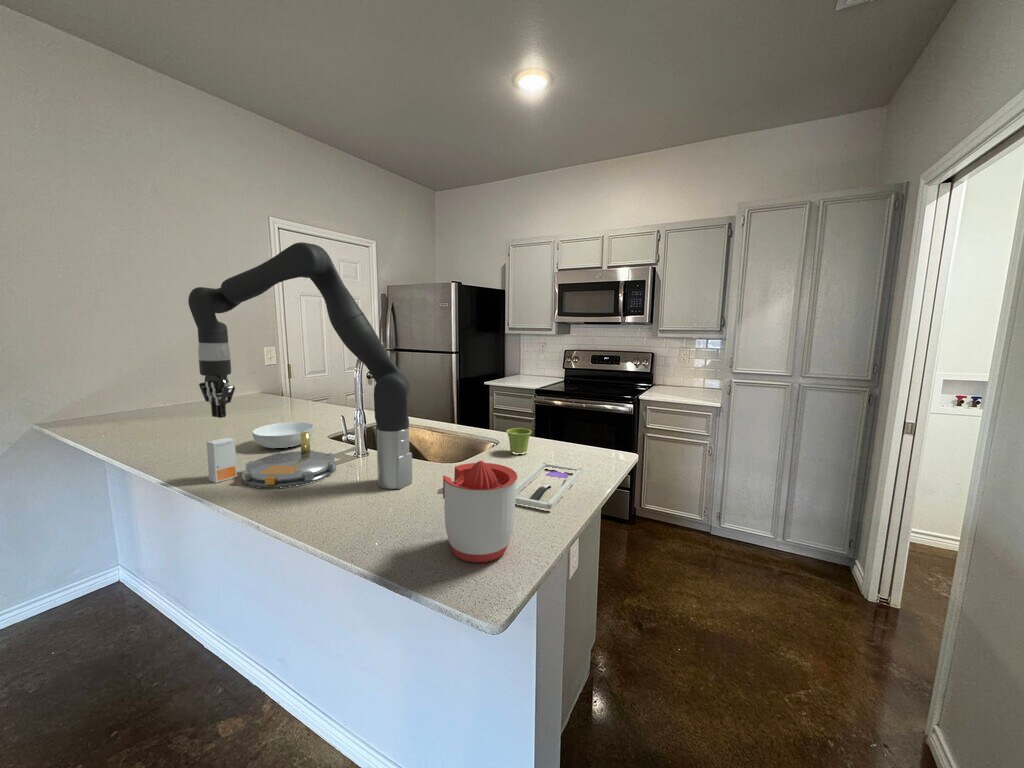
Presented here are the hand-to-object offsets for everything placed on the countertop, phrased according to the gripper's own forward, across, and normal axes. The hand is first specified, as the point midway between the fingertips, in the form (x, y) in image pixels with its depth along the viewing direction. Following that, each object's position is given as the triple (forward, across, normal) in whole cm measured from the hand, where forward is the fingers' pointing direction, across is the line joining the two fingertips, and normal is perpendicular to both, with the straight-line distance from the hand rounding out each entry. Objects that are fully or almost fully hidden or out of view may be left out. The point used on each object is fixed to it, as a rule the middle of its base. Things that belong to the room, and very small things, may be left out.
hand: (218, 416), depth 124 cm
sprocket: (+18, -13, -13) cm, 26 cm away
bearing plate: (+19, -13, -13) cm, 27 cm away
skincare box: (+19, 0, 0) cm, 19 cm away
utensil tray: (+19, -89, -40) cm, 99 cm away
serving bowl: (+20, +15, -32) cm, 40 cm away
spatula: (+20, -90, -38) cm, 99 cm away
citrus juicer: (+19, -87, 0) cm, 89 cm away
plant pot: (+19, -68, -67) cm, 97 cm away
